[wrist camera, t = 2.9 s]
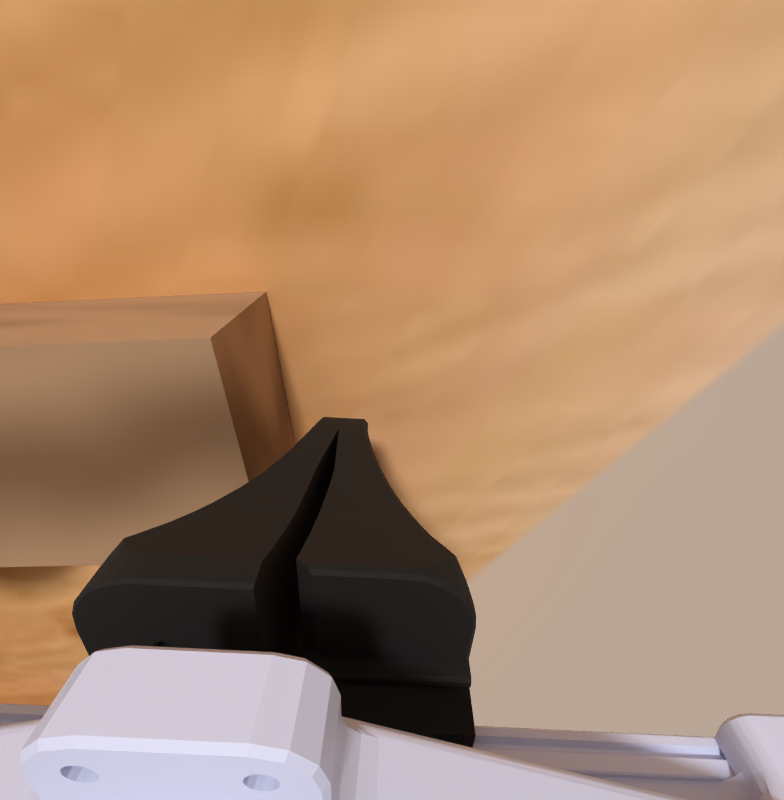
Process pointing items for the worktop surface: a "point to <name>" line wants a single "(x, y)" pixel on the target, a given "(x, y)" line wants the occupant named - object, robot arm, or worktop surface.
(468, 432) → the worktop surface
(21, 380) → the tan wooden chunk
